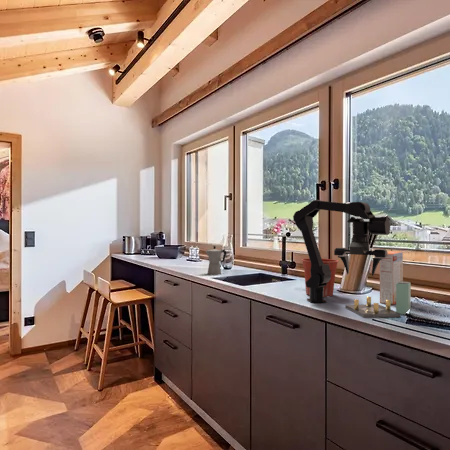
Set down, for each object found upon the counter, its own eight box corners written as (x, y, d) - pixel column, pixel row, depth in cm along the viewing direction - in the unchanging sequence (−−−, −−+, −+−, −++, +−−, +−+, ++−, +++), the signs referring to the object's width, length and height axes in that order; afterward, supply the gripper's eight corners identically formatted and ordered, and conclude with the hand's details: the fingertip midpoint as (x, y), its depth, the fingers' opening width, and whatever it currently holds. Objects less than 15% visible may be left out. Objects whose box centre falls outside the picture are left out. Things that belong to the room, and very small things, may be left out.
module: (396, 313, 135) (396, 282, 135) (398, 310, 139) (398, 281, 139) (408, 315, 133) (408, 283, 133) (410, 312, 137) (410, 282, 137)
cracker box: (388, 298, 164) (389, 250, 164) (403, 299, 160) (403, 251, 160) (378, 303, 153) (378, 252, 153) (393, 305, 149) (394, 253, 149)
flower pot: (337, 292, 177) (338, 258, 177) (338, 299, 161) (339, 262, 161) (302, 290, 181) (302, 257, 181) (300, 296, 165) (300, 260, 165)
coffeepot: (208, 275, 233) (208, 246, 233) (202, 273, 241) (202, 245, 241) (229, 273, 240) (229, 246, 240) (222, 272, 249) (223, 245, 249)
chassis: (345, 307, 144) (345, 295, 144) (378, 307, 145) (378, 295, 145) (363, 317, 129) (363, 304, 129) (400, 316, 130) (400, 303, 130)
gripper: (330, 234, 141) (330, 275, 141) (382, 235, 131) (382, 279, 131) (338, 233, 151) (337, 272, 151) (387, 234, 141) (387, 275, 141)
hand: (360, 274), depth 143 cm, fingers open, 9 cm apart
